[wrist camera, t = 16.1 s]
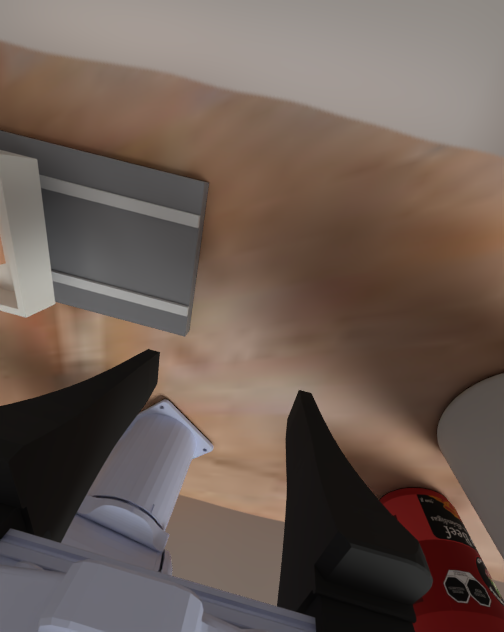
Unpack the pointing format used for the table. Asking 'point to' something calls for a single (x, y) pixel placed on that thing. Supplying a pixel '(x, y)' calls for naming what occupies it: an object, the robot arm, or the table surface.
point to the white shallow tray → (23, 238)
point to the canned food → (447, 566)
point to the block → (2, 254)
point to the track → (119, 234)
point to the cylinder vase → (478, 450)
